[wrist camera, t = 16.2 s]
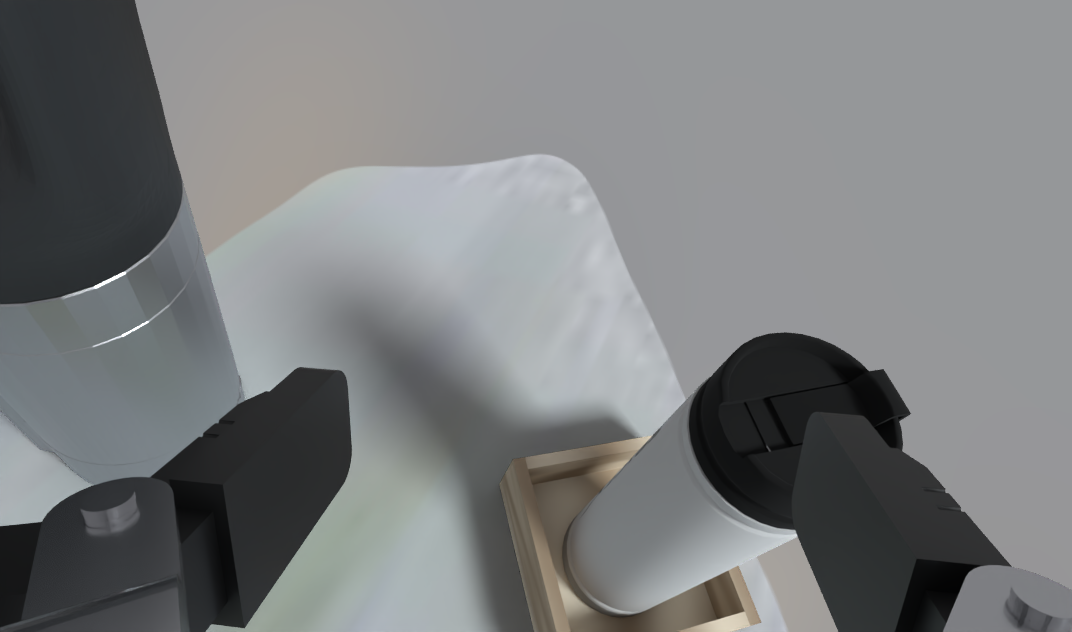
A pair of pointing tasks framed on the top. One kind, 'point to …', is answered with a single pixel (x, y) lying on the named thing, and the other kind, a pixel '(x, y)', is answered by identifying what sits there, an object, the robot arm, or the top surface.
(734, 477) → the travel mug
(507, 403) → the top surface
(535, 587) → the birch dock
